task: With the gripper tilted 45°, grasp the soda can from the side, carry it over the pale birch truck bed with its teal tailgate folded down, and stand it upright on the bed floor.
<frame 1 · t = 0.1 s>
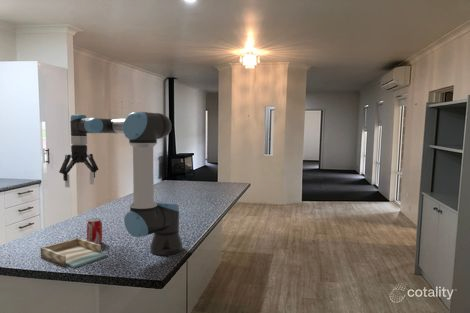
hand: (80, 185, 179), 28 cm above the counter, tool pointing down, fingers open, 13 cm apart
soda can: (94, 243, 174), on the counter
truck bed: (71, 254, 157), on the counter
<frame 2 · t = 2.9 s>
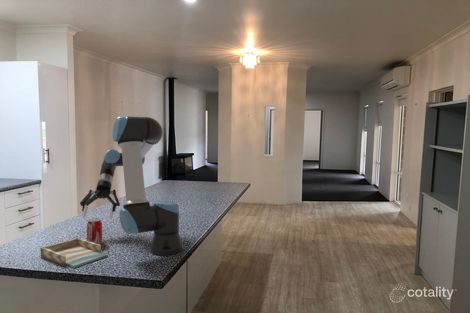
hand: (97, 216, 180), 12 cm above the counter, tool tilted 45°, fingers open, 13 cm apart
nothing on the counter moved.
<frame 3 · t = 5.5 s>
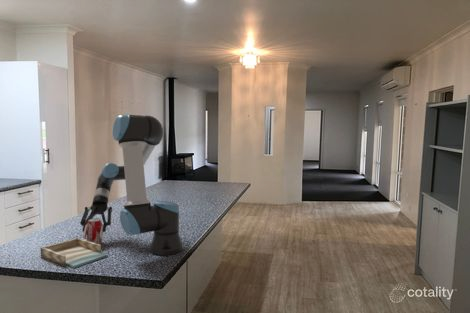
hand: (92, 237, 170), 4 cm above the counter, tool tilted 45°, fingers closed on soda can, 7 cm apart
soda can: (94, 243, 174), on the counter, touching gripper
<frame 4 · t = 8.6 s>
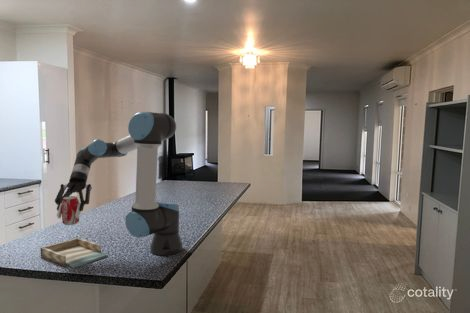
hand: (67, 216, 152), 18 cm above the counter, tool tilted 45°, fingers closed on soda can, 7 cm apart
soda can: (70, 224, 156), point 14 cm above the counter, touching gripper
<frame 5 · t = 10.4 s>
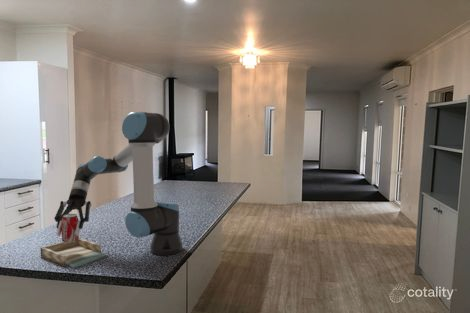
hand: (67, 234, 153), 10 cm above the counter, tool tilted 45°, fingers closed on soda can, 7 cm apart
soda can: (70, 241, 157), point 6 cm above the counter, touching gripper
when the fingers open (7 cm above the counter, at t = 11.7 s): soda can drops 2 cm, resting on truck bed.
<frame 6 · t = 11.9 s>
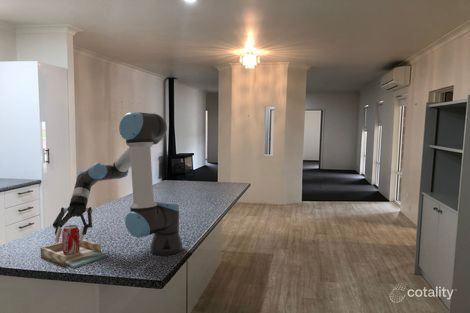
hand: (68, 241, 153), 7 cm above the counter, tool tilted 45°, fingers open, 9 cm apart
soda can: (71, 253, 157), point 1 cm above the counter, touching truck bed
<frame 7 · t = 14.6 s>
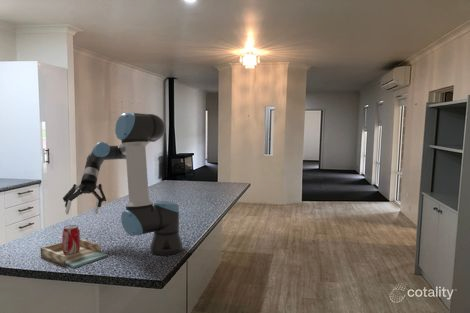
hand: (81, 212, 167), 17 cm above the counter, tool tilted 45°, fingers open, 13 cm apart
nothing on the counter moved.
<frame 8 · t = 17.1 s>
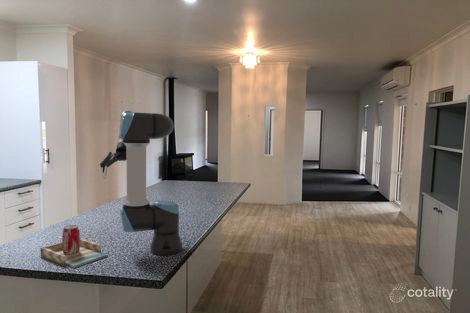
hand: (118, 177, 177), 33 cm above the counter, tool tilted 45°, fingers open, 13 cm apart
nothing on the counter moved.
at the end: soda can inside the target area on the truck bed (0.5 cm from its centre), point 0.8 cm above the truck bed's base; soda can tilted 0°; the gripper is holding nothing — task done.
